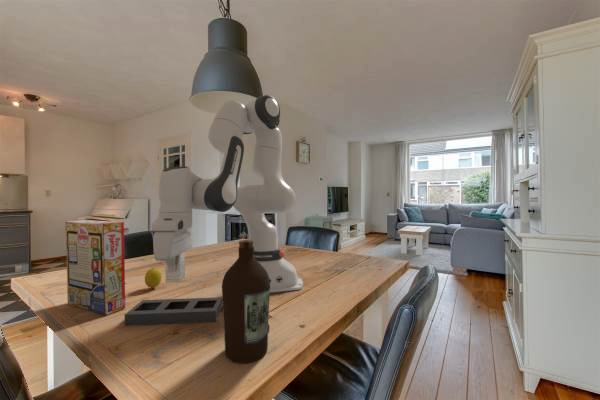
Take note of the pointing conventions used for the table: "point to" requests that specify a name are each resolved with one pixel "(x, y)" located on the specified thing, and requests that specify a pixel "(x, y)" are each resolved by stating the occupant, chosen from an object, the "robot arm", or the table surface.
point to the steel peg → (177, 269)
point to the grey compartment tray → (174, 311)
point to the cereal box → (95, 265)
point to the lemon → (153, 278)
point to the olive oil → (246, 307)
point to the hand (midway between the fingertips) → (175, 269)
